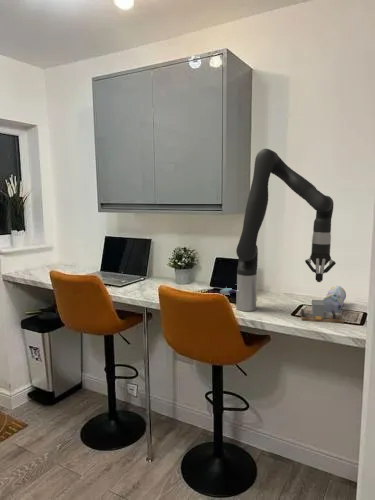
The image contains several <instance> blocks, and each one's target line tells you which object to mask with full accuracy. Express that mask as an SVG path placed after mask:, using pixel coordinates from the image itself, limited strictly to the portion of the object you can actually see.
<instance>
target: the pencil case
mask: <svg viewBox="0 0 375 500" xmlns="http://www.w3.org/2000/svg"><path fill="white" fill-rule="evenodd" d="M346 298H347V293H346V290H345V289H344V288H343V287H342V286H339V285H336V286H332V287H330V289H329V290H328V292H327V294H326V295H325V297H324V298H323V299H322V300H323V303H324V312H332V311H334V312H335V313H341V311H342V308H343V305H344V302H345V300H346Z"/></svg>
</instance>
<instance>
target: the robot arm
mask: <svg viewBox="0 0 375 500" xmlns="http://www.w3.org/2000/svg"><path fill="white" fill-rule="evenodd" d="M271 174H272V175H274V176H275V177H278V178H279V179H280V180H281V181H282V182H284V183H285V184H286V185H287V187H289V189H290V190H292V191H293V192H294V193H295V194H296V195H298V196H299V197H300V198H302V199H303V200H305V202H306V203H307V204H308V205H309V206H311V208H313V209H314V210H315V212H316V213H315V219H314V221H313V227H312V228H313V229H312V231H313V233H312V236H311V251H310V252H311V254H310V256H309V258H306V259H305V260H304V262H305V264H306V265H307V267H308V268H309V269H310V271H311V272H312V273H315V281H316V282H317V283H322V281H323V279H324V278H323V277H324V274H327V273H328V272H329V271H330V270H331V269H332V268H334V266H335V265H336V261H334V260H333V259H332V257H331V243H332V232H331V231H332V219H333V213H334V206H335V205H334V200H333V198H332V197H331V196H328V195H325V194H324V193H322V192H321V191H320V190H318V189H317V187H316V186H315V185H314V184H313V183H312V182H310V181H309V180H308V179H306V178H305V177H303V176H302V175H301V174H299V173H298V172H296V171H294V169H293V168H291V167H290V166H289V165H288V164H287V163H285V162H284V160H283V159H282V158H281V157H280V156H279V155H278V153H277V152H275V151H274V150H271V149H270V148H263V149H261V150H260V151H258V153H257V154H256V156H255V159H254V167H253V177H252V181H251V185H250V190H249V194H248V198H247V202H246V207H245V212H244V218H243V226H242V231H241V235H240V238H239V240H238V244H237V246H236V252H235V253H236V256H237V258H238V260H237V263H238V264H237V268H236V285H237V291H236V294H235V295H236V300H235V301H236V302H235V306H236V308H235V310H237V311H242V312H253V311H256V310H257V278H258V277H257V275H258V274H257V273H258V271H257V270H258V260H259V259H258V257H259V256H258V255H259V251H258V245H257V242H258V241H257V240H258V236H259V232H260V229H261V227H262V225H263V221H264V219H265V216H266V212H267V209H268V203H269V181H270V177H271ZM311 263H313V265H315V268H314V267H313V265H312V264H311ZM325 266H326V267H325Z"/></svg>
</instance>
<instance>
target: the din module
mask: <svg viewBox="0 0 375 500" xmlns="http://www.w3.org/2000/svg"><path fill="white" fill-rule="evenodd" d="M311 311H312V313H313V319H320V320H321V319H324V312H325V311H324V303H323V299H311Z"/></svg>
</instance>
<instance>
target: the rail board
mask: <svg viewBox="0 0 375 500" xmlns="http://www.w3.org/2000/svg"><path fill="white" fill-rule="evenodd" d="M300 318H301V321H303V322H305V321H306V322H319V323H320V322H321V323H336V324H344V323H345V321H344V319H343V318H344V316H343V313H342V312H339V313H335V312H334V311H332V312H325V311H324V319H321V320H320V319H313V313H312V310H304V308H301V309H300Z"/></svg>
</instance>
